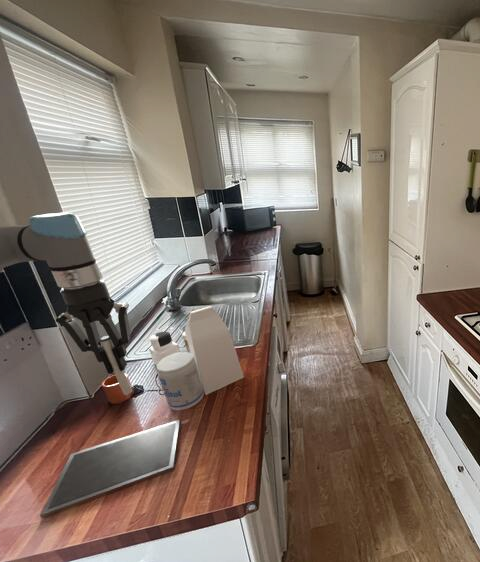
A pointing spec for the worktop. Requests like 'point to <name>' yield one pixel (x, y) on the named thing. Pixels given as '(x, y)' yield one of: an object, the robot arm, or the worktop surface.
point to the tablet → (114, 467)
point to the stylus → (115, 365)
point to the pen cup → (115, 390)
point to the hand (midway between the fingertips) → (117, 368)
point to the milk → (212, 349)
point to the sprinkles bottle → (186, 341)
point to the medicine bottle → (162, 346)
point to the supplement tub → (180, 380)
